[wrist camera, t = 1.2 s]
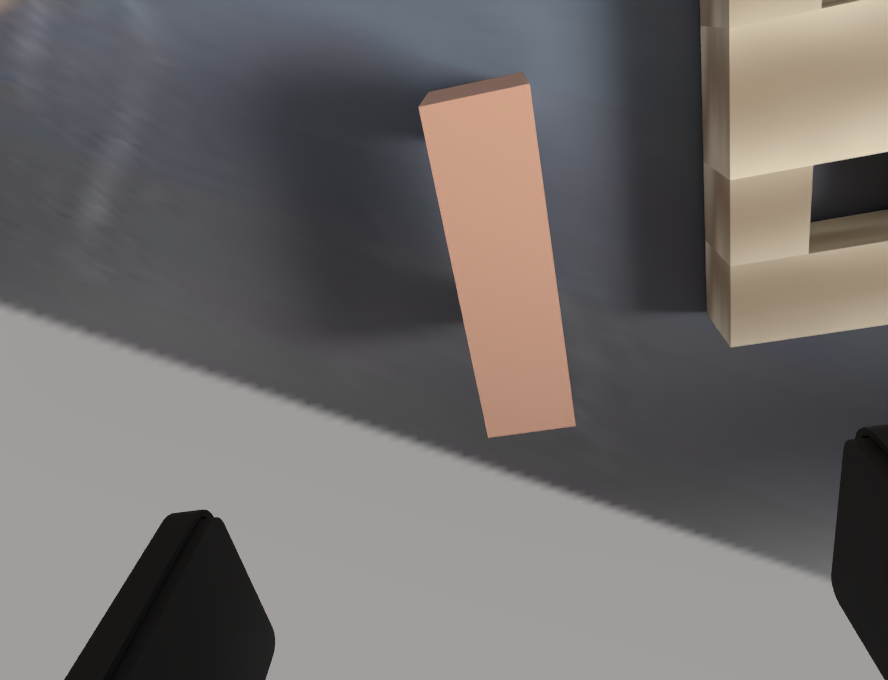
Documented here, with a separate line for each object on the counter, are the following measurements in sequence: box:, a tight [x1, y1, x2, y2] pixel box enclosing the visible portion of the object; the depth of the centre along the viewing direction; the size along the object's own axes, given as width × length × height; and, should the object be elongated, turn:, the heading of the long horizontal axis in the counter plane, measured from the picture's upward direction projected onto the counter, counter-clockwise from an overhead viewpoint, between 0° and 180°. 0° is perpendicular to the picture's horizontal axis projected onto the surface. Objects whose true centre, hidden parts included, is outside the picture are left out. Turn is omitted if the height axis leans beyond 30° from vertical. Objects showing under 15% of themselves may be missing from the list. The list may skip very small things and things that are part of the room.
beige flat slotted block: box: [700, 0, 888, 347], centre depth 22 cm, size 18×10×3 cm, turn 12°
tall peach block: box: [418, 72, 576, 438], centre depth 23 cm, size 11×3×8 cm, turn 12°
